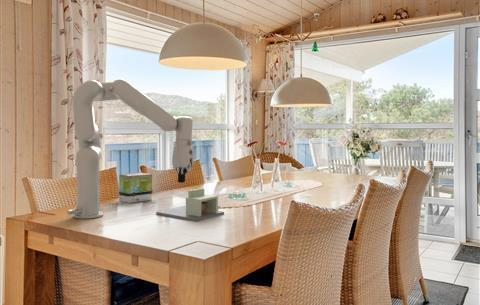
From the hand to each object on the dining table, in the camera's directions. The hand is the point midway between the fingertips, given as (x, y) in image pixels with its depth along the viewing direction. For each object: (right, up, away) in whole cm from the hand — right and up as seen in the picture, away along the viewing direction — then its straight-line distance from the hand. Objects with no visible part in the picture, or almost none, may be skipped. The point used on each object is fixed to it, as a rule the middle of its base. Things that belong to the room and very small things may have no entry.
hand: (181, 182), depth 193 cm
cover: (+10, -14, -5) cm, 18 cm away
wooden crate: (+9, -14, -5) cm, 17 cm away
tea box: (-30, -13, +32) cm, 45 cm away
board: (+4, -15, -2) cm, 15 cm away
